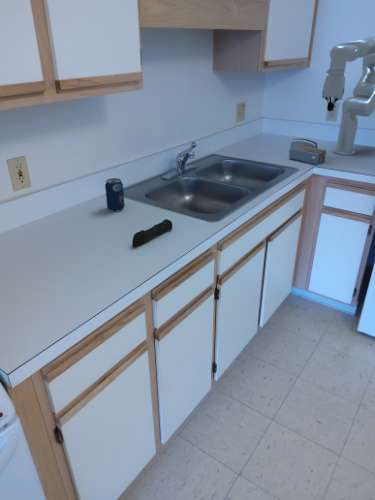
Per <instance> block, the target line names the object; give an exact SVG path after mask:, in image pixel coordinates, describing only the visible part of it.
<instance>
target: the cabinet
mask: <svg viewBox="0 0 375 500" xmlns="http://www.w3.org/2000/svg"><path fill="white" fill-rule="evenodd" d="M292 149H297V150H302V151H307V152H312V153H318V154H319V159H318V163H317V165H320V164H322V163H323V162H325V159H326V155H327V149H324V148H323V149H321V148H318V149H317V148H311V147H305V146H299V145H297V146H295V147H293V148H292ZM290 160H295V161H299V162H302V161H301V160H297V159H292V158H290ZM304 162H306V161H304ZM306 163H307V162H306ZM309 163H310V164H312V163H311V162H309Z"/></svg>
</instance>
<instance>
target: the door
mask: <svg viewBox="0 0 375 500" xmlns="http://www.w3.org/2000/svg"><path fill="white" fill-rule="evenodd" d="M288 158H289V159H291V158H292V159H291V160H294V159H297V160H296V161H299V160H301V161H300V162H305V161H306V163H310V162H311V163H310V164H317V163H318V159H319V154H318V153H312V152H307V151H302V150H297V149H289V156H288ZM317 165H318V164H317Z"/></svg>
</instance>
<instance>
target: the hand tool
mask: <svg viewBox="0 0 375 500" xmlns="http://www.w3.org/2000/svg"><path fill="white" fill-rule="evenodd" d="M169 229H171V230H172V229H173V221H171V220H169V219H167V218H164V219H163V220H162V222H159V223H157V224H154V225H153V226H152V227H150V228H148V229H146V230H144V229H142V230H139V231H138V232H135V233H134V234H133V236H132V242H131V243H132V244H131V246H132V248H137V247H140V246H142V245H144V244H145V245H146V244H147V242H148V241H150V240H152V239H153V238H156V237H157V236H158V235H160V234H163V233H165V232H166V231H168V230H169ZM169 231H170V230H169Z"/></svg>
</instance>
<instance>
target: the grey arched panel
mask: <svg viewBox="0 0 375 500" xmlns="http://www.w3.org/2000/svg"><path fill="white" fill-rule="evenodd" d="M297 145H299V146H305V147H311V148H317V149H319V148H318V142H317V141H316V140H313V139H311V138H307V137H297V138H296V137H295V138H293V139H292V140H291V142H290V149H292V148H293V147H295V146H297ZM290 149H289V150H290Z"/></svg>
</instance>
